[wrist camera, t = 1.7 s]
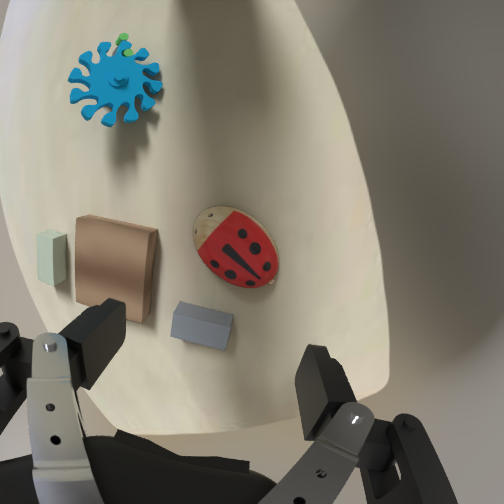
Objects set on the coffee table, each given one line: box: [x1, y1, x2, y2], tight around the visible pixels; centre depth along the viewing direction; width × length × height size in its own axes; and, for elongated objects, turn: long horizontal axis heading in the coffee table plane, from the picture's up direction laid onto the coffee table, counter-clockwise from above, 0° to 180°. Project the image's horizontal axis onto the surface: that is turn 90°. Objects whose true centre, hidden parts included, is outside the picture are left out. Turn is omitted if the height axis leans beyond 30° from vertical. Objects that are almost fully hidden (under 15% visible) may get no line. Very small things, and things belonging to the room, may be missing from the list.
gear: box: [68, 33, 163, 127], centre depth 21 cm, size 11×6×10 cm
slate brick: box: [171, 301, 233, 350], centre depth 28 cm, size 6×3×3 cm, turn 76°
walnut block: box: [75, 215, 158, 323], centre depth 27 cm, size 10×9×3 cm
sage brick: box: [37, 229, 66, 286], centre depth 27 cm, size 6×3×3 cm, turn 167°
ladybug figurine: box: [193, 206, 279, 288], centre depth 26 cm, size 7×10×4 cm
